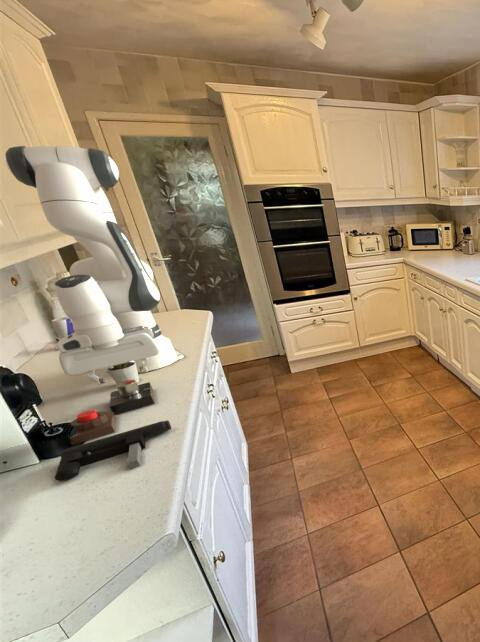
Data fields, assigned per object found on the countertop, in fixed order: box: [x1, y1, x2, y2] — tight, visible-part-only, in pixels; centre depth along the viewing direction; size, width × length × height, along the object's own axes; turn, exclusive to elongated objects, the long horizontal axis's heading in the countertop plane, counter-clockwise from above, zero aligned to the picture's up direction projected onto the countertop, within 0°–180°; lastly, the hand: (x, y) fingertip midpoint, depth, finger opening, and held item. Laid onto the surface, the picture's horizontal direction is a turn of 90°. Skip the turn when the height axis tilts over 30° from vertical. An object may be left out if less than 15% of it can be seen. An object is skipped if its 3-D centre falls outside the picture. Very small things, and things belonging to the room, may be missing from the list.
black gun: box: [54, 419, 172, 482], centre depth 93 cm, size 3×20×16 cm
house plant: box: [106, 362, 140, 385], centre depth 126 cm, size 14×14×16 cm
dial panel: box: [109, 381, 156, 416], centre depth 118 cm, size 12×9×3 cm
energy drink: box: [51, 316, 75, 340], centre depth 163 cm, size 5×5×12 cm
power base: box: [70, 410, 117, 446], centre depth 104 cm, size 10×8×4 cm
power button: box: [76, 409, 99, 423], centre depth 103 cm, size 4×4×2 cm
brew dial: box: [115, 380, 140, 397], centre depth 116 cm, size 4×4×4 cm
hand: (124, 377), depth 116 cm, fingers open, 8 cm apart
